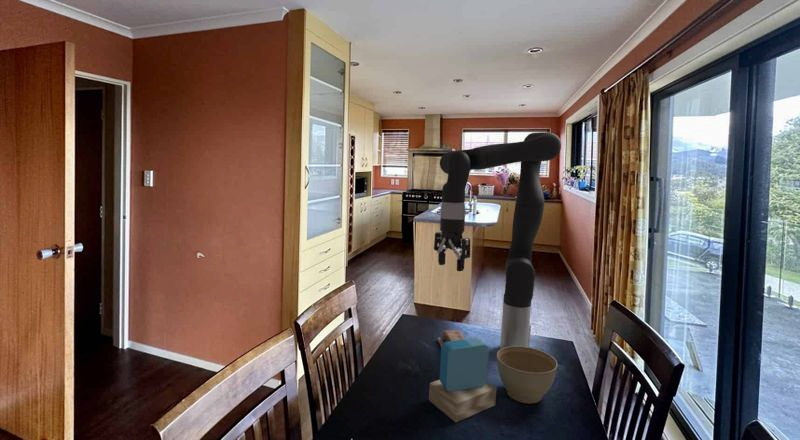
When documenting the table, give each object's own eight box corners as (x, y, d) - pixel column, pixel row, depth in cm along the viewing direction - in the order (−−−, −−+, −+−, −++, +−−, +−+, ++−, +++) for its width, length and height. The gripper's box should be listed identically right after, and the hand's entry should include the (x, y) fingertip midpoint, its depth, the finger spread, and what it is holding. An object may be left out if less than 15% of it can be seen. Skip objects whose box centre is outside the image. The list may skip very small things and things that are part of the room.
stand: (466, 385, 116) (467, 369, 115) (495, 405, 107) (496, 387, 106) (428, 400, 108) (429, 383, 107) (455, 422, 99) (456, 403, 98)
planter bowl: (563, 395, 112) (567, 359, 111) (537, 420, 101) (540, 380, 100) (512, 373, 124) (514, 340, 122) (483, 393, 112) (485, 357, 111)
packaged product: (437, 328, 145) (463, 328, 147) (436, 341, 146) (462, 340, 147) (450, 351, 128) (479, 350, 129) (449, 365, 128) (479, 364, 130)
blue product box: (478, 377, 111) (480, 336, 109) (486, 386, 107) (489, 343, 105) (439, 384, 107) (441, 342, 105) (446, 393, 103) (448, 349, 101)
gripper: (428, 214, 126) (427, 264, 129) (459, 220, 115) (457, 274, 117) (446, 213, 131) (444, 261, 133) (478, 218, 119) (475, 271, 121)
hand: (450, 267), depth 125 cm, fingers open, 8 cm apart
